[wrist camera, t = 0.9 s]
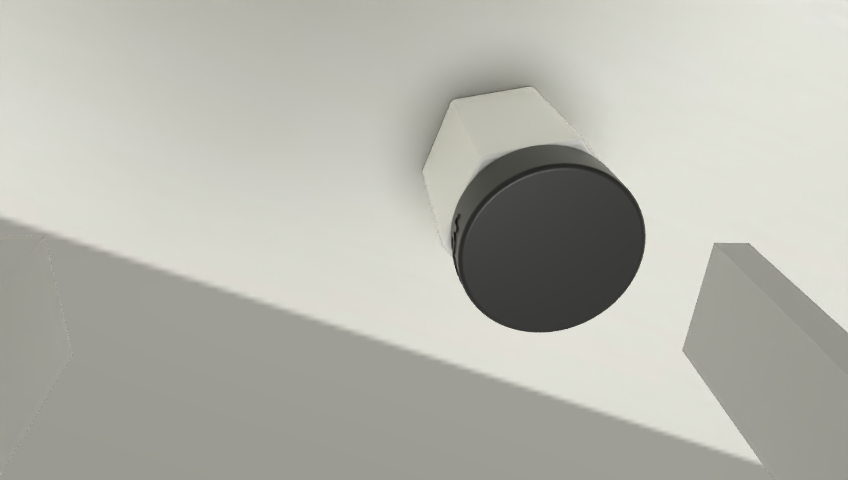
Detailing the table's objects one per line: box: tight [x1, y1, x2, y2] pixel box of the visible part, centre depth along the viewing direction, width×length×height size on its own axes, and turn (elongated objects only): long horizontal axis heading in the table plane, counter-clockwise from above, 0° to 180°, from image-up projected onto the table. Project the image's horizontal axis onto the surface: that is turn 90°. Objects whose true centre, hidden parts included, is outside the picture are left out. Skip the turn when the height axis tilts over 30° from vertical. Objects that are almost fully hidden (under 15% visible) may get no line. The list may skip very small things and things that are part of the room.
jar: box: [422, 87, 646, 332], centre depth 33 cm, size 9×8×12 cm
